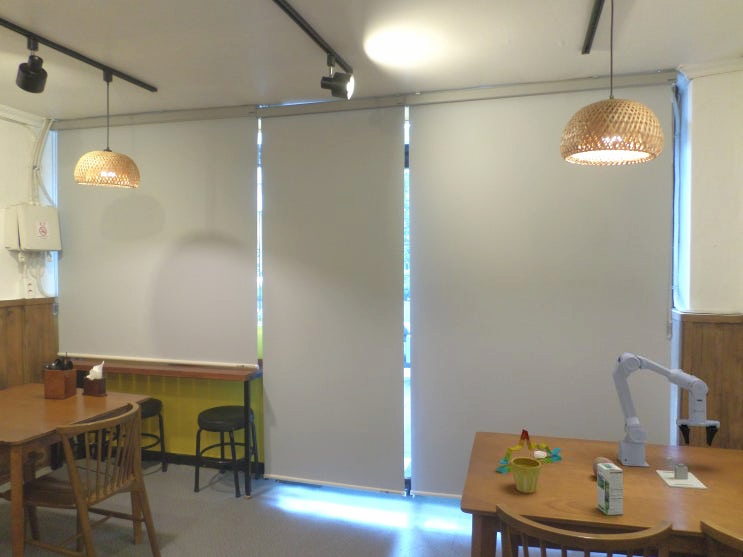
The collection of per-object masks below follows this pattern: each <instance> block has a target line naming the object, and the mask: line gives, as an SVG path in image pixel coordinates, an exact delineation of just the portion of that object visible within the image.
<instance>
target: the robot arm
mask: <svg viewBox="0 0 743 557" xmlns="http://www.w3.org/2000/svg"><path fill="white" fill-rule="evenodd" d="M639 369H640V371H641V370H650V371H652V372H654V373H657V374H659V375H662V376H663V377H666V378H667V381H668V382H669V383H671V384H674V385H675V386H678V387H680V388H682V389H684V390H687V391H688V418H684V419H683V418H681V419H678V418H677V419H676V420H675V424H676V426H678V427H679V429H680V431H681V433H682V434H681V435H682V436H683V440H684V443H685V445H687V446H688V445H690V431H691V429H690V427H689V426H691V427H693V426H694V427H705V432H706V445H708V446H709V447H711V446H712V443H713V441H714V438H715V436H716V434H717V433H718V431H719V428H720V427H721V422H720V421H717V420H711V419H710V420H708V419H707V394H708V392H709V387H708V385H707V383H706V382H705V381H703V380H702V379H701V378H698V377H696V375H691V374H688V373H686V372H684V370H683V369H680V368H672V369H669V368H667V367H665V366H663V365H661V364H659V363H657V362H655V361H653V360H651V359H649V358H646V357H644V356H641V355H637V354H633V353H631V352H629V351H626V352H625V351H624V352H623V353H621V354H620V355H619V356H618V357H617V358H616V362H615V366H614V368H613V372H612V380H613V382H614V386H615V389H616V394H617V396H618V400H619V403H620V404H619V405H620V407H621V410H622V411H621V412H622V415H623V421H624V426H623V430H624V432H625V434H626V435H625V437H624V439H620V440H618V446H617V449H618V453H617V454H618V457H617V459H618V460H619V462H620V463H621V464H622V465H623V466H630V467H644V468H645V467H646V468H647V467H648V468H649V467H650V465H649V464H648V462H647V461H646V438H647V437H646V436H647V435H646V431H645V430H644V429H643V428H642V426H641V423H640V420H639V418H638V415H637V412H636V408H635V405H634V401H633V397H632V394H631V391H630V388H629V384H628V380H627V379H628V378H629V377H630V376H631V374H633V373H634V372H636V371H638V370H639Z"/></svg>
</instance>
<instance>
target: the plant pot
mask: <svg viewBox="0 0 743 557" xmlns="http://www.w3.org/2000/svg"><path fill="white" fill-rule="evenodd" d="M535 459H536V458H531V457H528V456H527V457H526V456H518V457H514V458H512V459H511V461H510V464H511V473H513V479H514V483H515V488H516V490H517V491H519V492H520V493H524V494H525V493H526V494H532V493H535V492H536V490H537V484H538V481H539V477H540V475H541V473H542V465H541V463H540V462H539V461H537V460H535Z"/></svg>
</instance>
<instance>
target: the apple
mask: <svg viewBox="0 0 743 557" xmlns="http://www.w3.org/2000/svg"><path fill="white" fill-rule="evenodd" d="M601 463H612V464H614V465H615V463H614V462H613V460H610V459H608V458H606V457H601V456H598V457H596V458H595V459H594V460H593V462H592V471H593V474H594V476H596V477H597V464H601Z"/></svg>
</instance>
